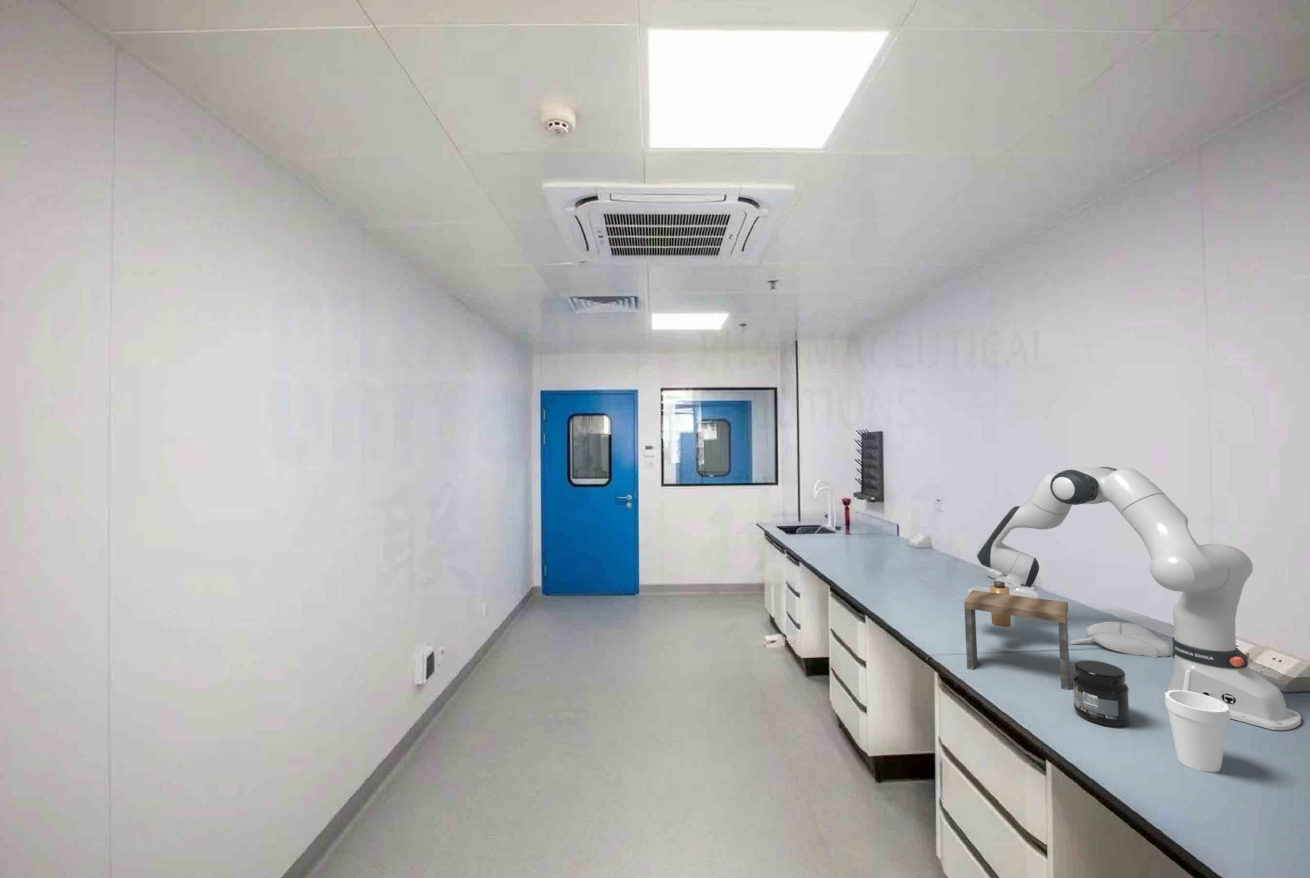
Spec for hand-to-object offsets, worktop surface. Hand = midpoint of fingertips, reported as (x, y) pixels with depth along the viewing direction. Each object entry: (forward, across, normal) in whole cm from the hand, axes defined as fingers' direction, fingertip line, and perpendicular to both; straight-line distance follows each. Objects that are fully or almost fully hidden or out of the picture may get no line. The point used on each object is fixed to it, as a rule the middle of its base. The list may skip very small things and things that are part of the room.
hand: (999, 603), depth 172 cm
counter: (+15, +6, +15) cm, 22 cm away
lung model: (-22, +28, +16) cm, 39 cm away
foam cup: (+46, +40, +16) cm, 63 cm away
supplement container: (+34, +24, +15) cm, 45 cm away
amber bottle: (-1, 0, +7) cm, 7 cm away
